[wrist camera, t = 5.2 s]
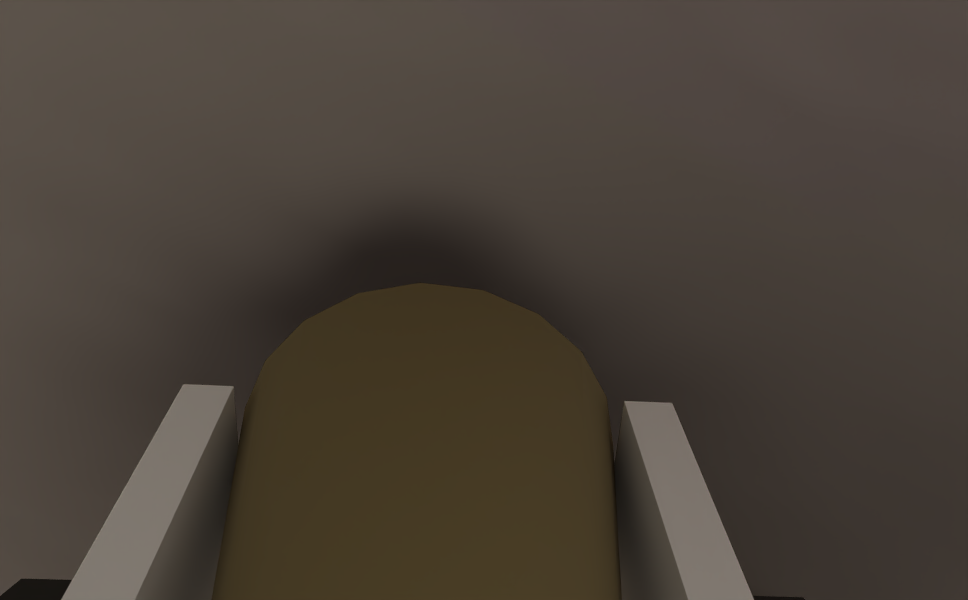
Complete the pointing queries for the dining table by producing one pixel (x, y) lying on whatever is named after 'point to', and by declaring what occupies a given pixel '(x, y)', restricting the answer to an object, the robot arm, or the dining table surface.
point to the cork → (423, 459)
